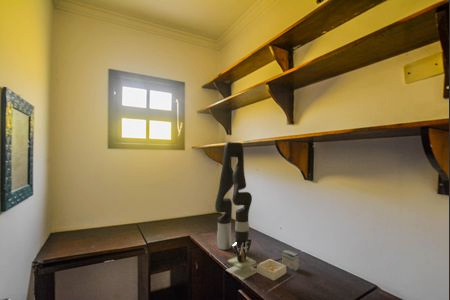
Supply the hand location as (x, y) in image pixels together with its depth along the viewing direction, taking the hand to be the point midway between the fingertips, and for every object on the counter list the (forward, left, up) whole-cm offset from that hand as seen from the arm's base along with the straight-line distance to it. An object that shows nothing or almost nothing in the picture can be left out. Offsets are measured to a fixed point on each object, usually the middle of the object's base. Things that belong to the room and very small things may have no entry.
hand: (241, 260), depth 127 cm
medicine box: (+15, +23, -6) cm, 28 cm away
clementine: (+12, +10, -4) cm, 16 cm away
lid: (0, 0, -1) cm, 1 cm away
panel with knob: (0, 0, -6) cm, 6 cm away
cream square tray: (+12, +10, -6) cm, 17 cm away
